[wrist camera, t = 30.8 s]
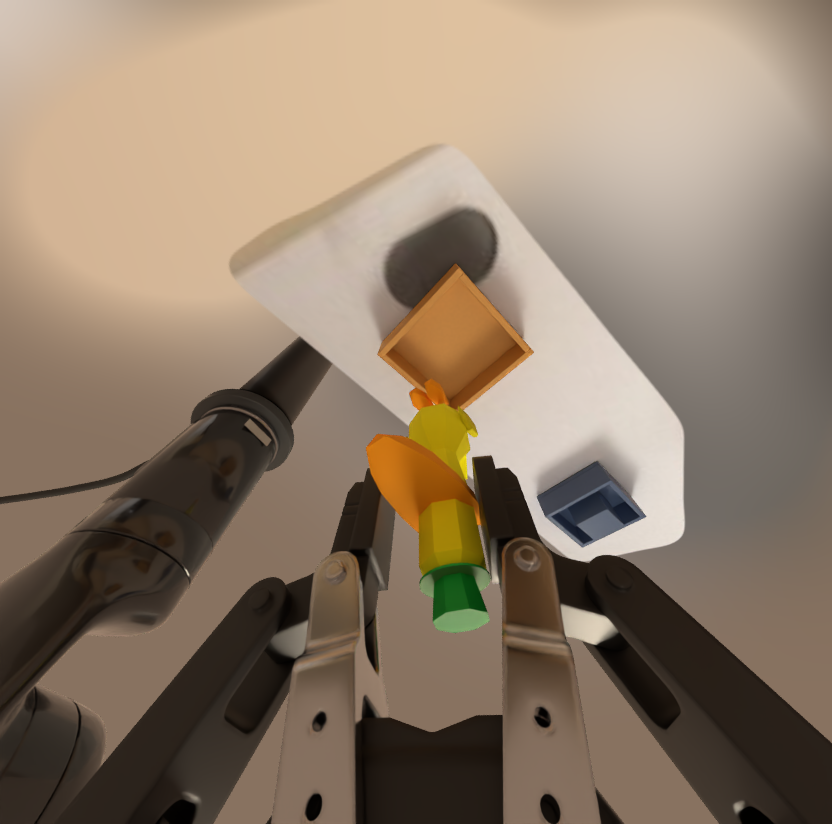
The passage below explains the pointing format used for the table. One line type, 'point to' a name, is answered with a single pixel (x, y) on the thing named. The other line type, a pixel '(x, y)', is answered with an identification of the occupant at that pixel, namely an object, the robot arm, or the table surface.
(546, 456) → the table surface
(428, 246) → the table surface
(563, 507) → the blue bin
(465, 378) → the ochre bin
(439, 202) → the table surface
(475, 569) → the toy figure
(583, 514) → the blue block
